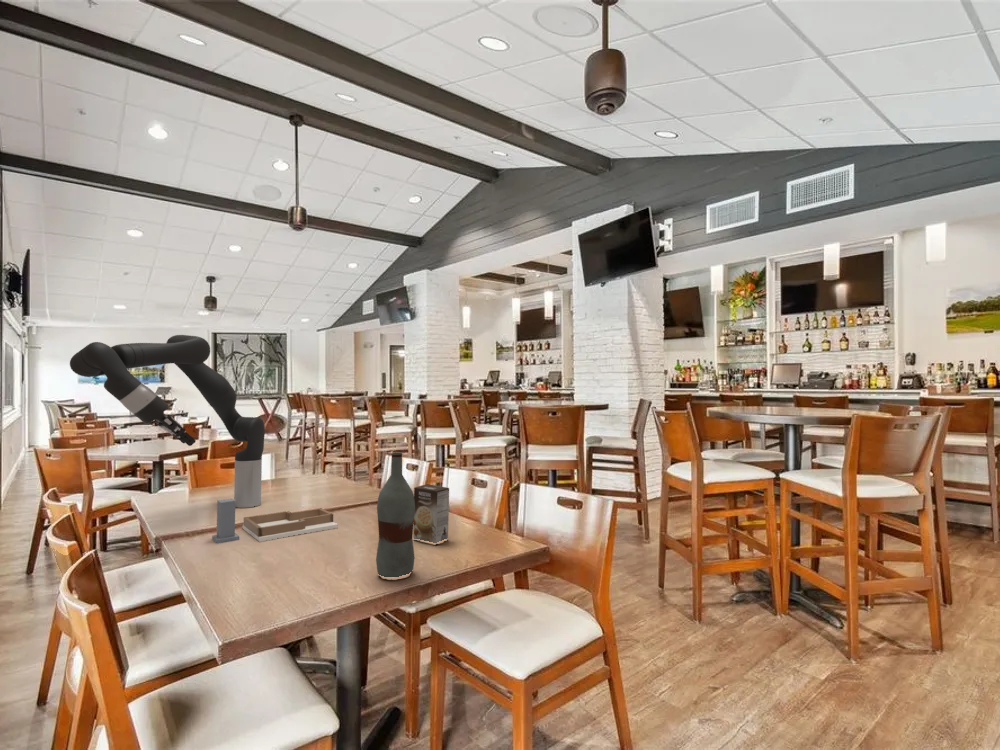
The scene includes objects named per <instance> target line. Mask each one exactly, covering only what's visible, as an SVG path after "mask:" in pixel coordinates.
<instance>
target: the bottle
mask: <svg viewBox="0 0 1000 750" xmlns="http://www.w3.org/2000/svg"><path fill="white" fill-rule="evenodd" d="M390 464H391V466H390V467H391V468H390V476H389V477H388V479H387V481H386V482H385V483H384V485H383V486H382V488H381V490H380V491H379V494H378V497H377V504H376V511H377V512H376V513H377V522H378V523H377V524H378V527H377V528H378V543H377V548H376V549H377V550H376V557H375V558H376V559H375V562H376V571H377V575H378V574H379V575H381V576H384V577H399V576H402V575H406V574H409V573H410V572H412V573H413V571H412V570H414V565H415V559H416V558H415V557H416V556H415V549H414V542H413V541H414V540H413V528H414V513H415V500H414V490H413V489H412V488H411V487H410V485H409V483H408V482H407V480H406V478H405V477H404V475H403V452H401V451H398V452H397V451H395V452H391V463H390Z"/></svg>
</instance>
